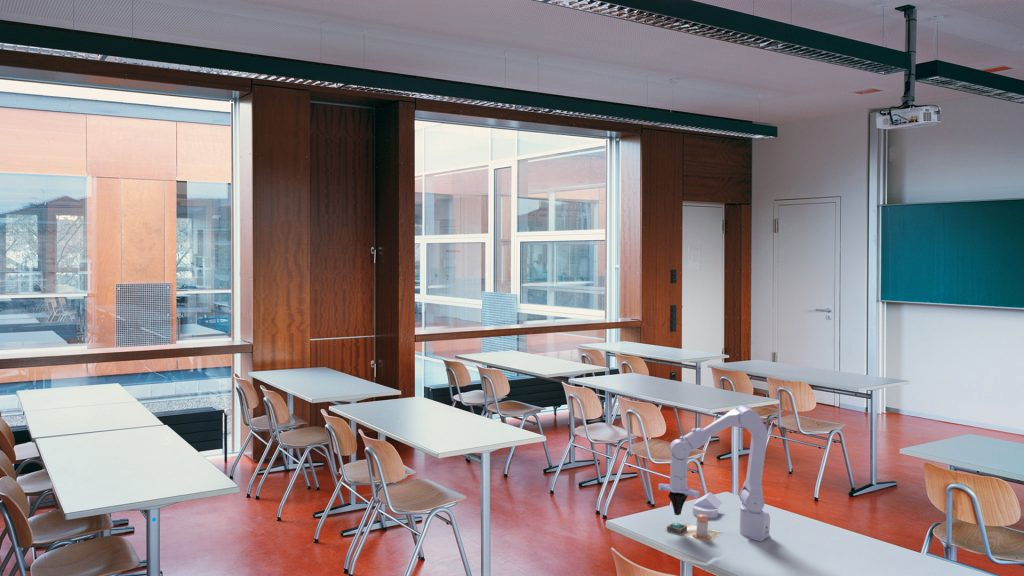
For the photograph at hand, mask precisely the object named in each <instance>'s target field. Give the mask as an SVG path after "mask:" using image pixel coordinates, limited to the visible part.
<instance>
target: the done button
mask: <svg viewBox="0 0 1024 576" xmlns="http://www.w3.org/2000/svg"><path fill="white" fill-rule="evenodd" d="M673 527H675V528H678V529H680V528H682V524H681V523H680V522H673Z"/></svg>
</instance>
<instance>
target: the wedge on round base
mask: <svg viewBox="0 0 1024 576" xmlns="http://www.w3.org/2000/svg"><path fill="white" fill-rule="evenodd" d="M722 503H723V502H722V501H721V500H720V499H719V498H718V497H716V495H714V494H713V493H712V492H711V491H709V492H708V493H706V494H704V495H703V496H701V497H698V498H697V500H695V502H694V503H693V505H692V515H693V516H695V517H697V515H698V514H705V515H708V519H715V518H717V517H718V514H719V513H718V511H719V508H720V506H721V505H722Z"/></svg>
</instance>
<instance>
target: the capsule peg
mask: <svg viewBox="0 0 1024 576" xmlns="http://www.w3.org/2000/svg"><path fill="white" fill-rule="evenodd" d="M696 526H697V533H696V536H697V537H699V538H707V534H708V529H709V518H708V515H705V514H698V515H697V516H696Z"/></svg>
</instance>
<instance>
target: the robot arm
mask: <svg viewBox="0 0 1024 576" xmlns="http://www.w3.org/2000/svg"><path fill="white" fill-rule="evenodd" d="M740 424H741V425H740ZM741 426H742V427H743V428H745V429H746V430H747V431H748V433H750V434H751V438H750V445H749V454H748V461H747V462H748V463H747V469H746V475H745V476H746V478H745V480H744V482H743V485H742V488H741V490H740V492H739V493H738V498H739V500H740V501H741V505H740V507H739V534H740V535H742V536H745V537H747V539H750V540H753V541H757V542H763V541H765V540H766V539H767V538H769V537H770V536H771V534H770V530H771V529H770V527H771V526H770V524H771V516H770V514H769V513H768V512H766V511H763V509H764V507H765V499H764V496H763V494H764V491H763V490H764V489H763V485H762V484H763V483H762V481H763V473H764V467H765V466H764V464H765V457H766V451H767V445H768V444H767V443H768V434H769V432H768V429H767V427H766V425H765V423H764V421H763V418H762V417H761V415H760V414H758V413H757V412H756V411H755V410H752V408H751V407H750V406H748V405H746V404H742V405H738V406H736V408H733V409H731V410H728V412H727V413H725V414H723V415H722V416H721V417H719V418H718V419H716V420H714V421H713V422H712V423H710V424H709V425H707V426H705V427H704V428H703V427H697V428H695V427H693V428H692V429H691V431H690V432H688V433H687V434H685V435H683V436H682V435H681V436H680V437H679V438H677V439H674V440H672V441H671V443H670V445H669V446H668V448H669V451H670V453H671V454H670V467H669V469H670V470H669V471H670V472H669V473H670V474H669V483H662V482H661V483H658V485H657V486H658V487H657V489H658V490H659V491H666V492H669V493H668V496H667V497H668V499H669V500H670V502H671V506H672V508H673V514H674V515H675V516H680V515H681V514H682V510H683V507H684V504H685V501H686V500H687V498H688V497H691V498H694V499H699V498H700V491H698V490H695V489H692V488H690V487H688V457H689V456H690V453H691V452H693V451H696V450H697V449H699V448H701V447H702V446H703V445H705V444H707V443H708V442H709V438H710V437H712V436H714V435H715V434H718V433H719V432H722V431H724V430H725V429H727V428H729V427H735V428H740V427H741Z"/></svg>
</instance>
